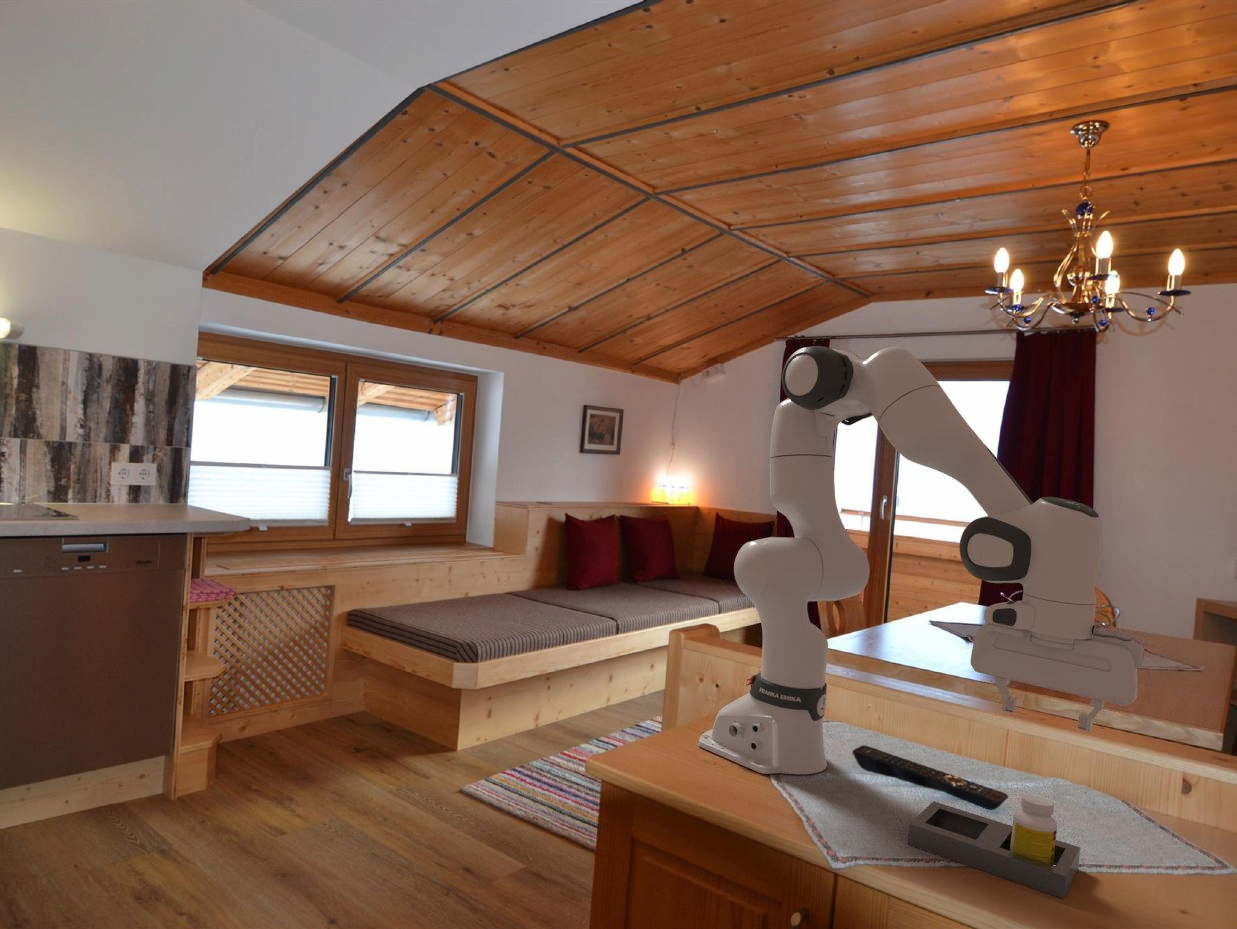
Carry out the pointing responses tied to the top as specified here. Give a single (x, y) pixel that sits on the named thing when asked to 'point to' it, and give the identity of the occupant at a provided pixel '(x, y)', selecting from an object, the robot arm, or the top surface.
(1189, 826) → the top surface
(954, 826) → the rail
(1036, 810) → the supplement bottle
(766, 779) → the top surface
